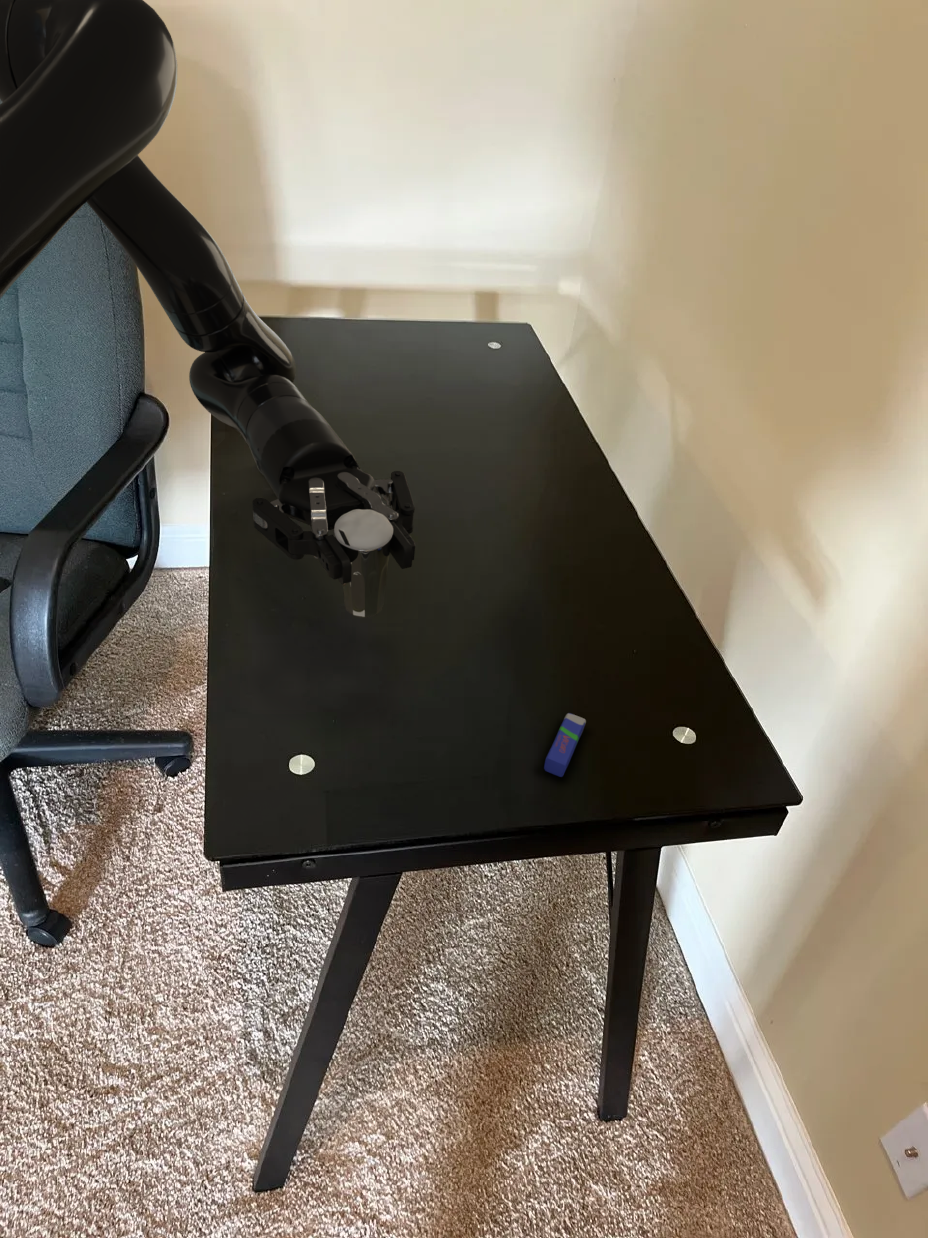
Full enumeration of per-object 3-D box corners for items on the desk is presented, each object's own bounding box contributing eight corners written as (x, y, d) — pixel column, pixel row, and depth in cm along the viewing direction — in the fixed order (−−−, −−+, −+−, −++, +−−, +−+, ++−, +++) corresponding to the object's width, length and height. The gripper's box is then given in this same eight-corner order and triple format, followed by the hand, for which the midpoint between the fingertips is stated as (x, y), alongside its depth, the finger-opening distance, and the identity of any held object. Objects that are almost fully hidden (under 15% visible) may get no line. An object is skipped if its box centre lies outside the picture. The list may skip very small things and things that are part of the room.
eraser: (583, 733, 77) (587, 719, 75) (562, 779, 72) (566, 765, 71) (563, 725, 77) (567, 711, 76) (541, 771, 73) (545, 756, 71)
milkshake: (320, 616, 69) (315, 519, 62) (356, 580, 72) (355, 485, 65) (366, 637, 67) (366, 541, 60) (400, 599, 71) (404, 505, 64)
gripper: (216, 430, 69) (287, 548, 58) (374, 405, 75) (464, 508, 64) (224, 505, 74) (291, 626, 63) (371, 476, 80) (455, 582, 69)
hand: (378, 566), depth 64 cm, fingers closed on milkshake, 4 cm apart
